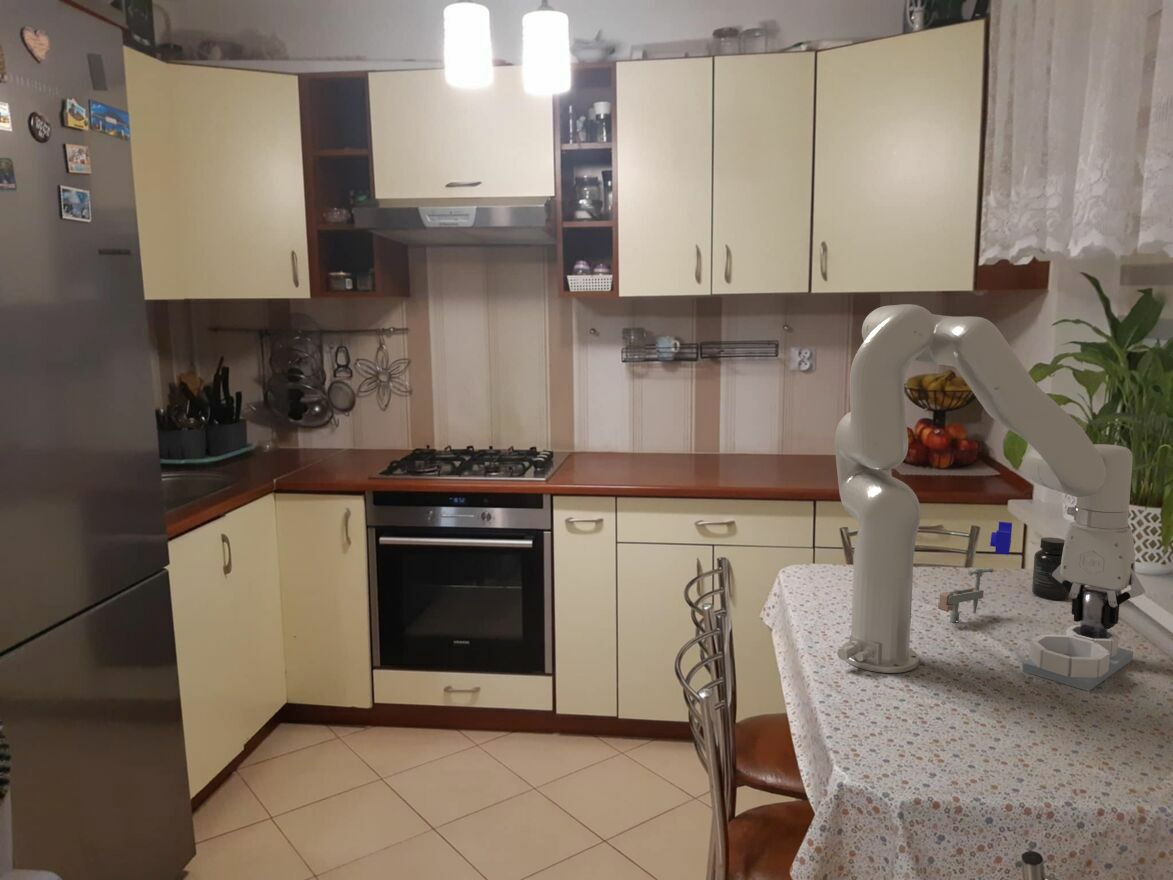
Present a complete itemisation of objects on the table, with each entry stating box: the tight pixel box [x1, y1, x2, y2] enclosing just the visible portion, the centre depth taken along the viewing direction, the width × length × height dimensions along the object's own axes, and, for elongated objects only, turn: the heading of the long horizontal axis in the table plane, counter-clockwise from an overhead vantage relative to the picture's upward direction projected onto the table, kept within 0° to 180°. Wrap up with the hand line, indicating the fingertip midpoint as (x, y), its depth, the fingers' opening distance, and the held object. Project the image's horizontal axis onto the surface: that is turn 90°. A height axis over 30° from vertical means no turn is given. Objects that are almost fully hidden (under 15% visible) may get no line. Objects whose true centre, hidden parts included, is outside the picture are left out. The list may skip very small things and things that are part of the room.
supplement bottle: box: [1031, 536, 1070, 601], centre depth 175 cm, size 7×7×12 cm
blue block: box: [989, 521, 1013, 555], centre depth 211 cm, size 12×4×6 cm, turn 151°
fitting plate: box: [1022, 624, 1134, 692], centre depth 140 cm, size 19×11×4 cm, turn 130°
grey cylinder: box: [1079, 586, 1109, 639], centre depth 143 cm, size 4×4×8 cm
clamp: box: [937, 567, 995, 623], centre depth 162 cm, size 15×2×10 cm, turn 123°
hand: (1094, 622), depth 143 cm, fingers closed on grey cylinder, 4 cm apart
